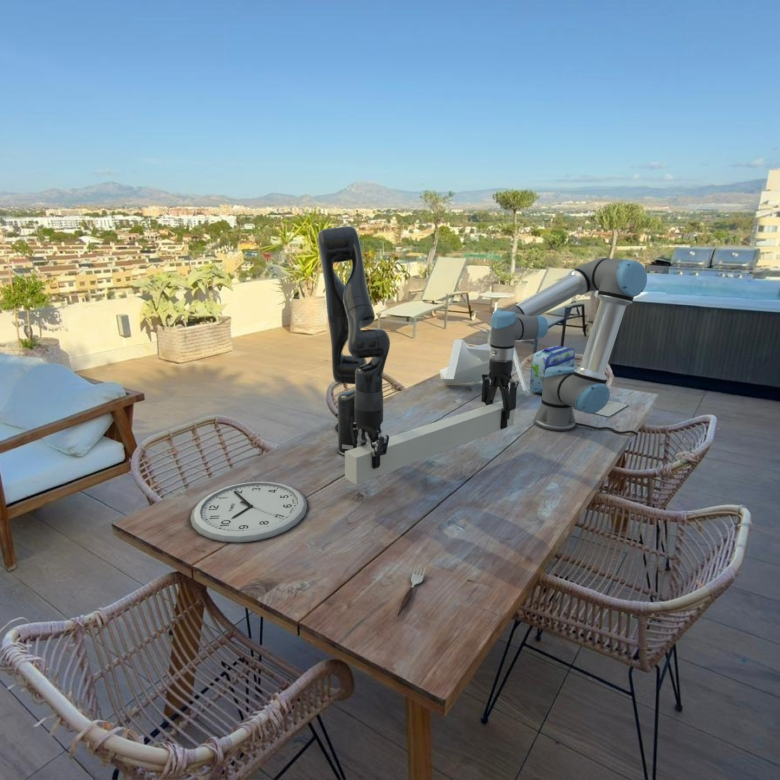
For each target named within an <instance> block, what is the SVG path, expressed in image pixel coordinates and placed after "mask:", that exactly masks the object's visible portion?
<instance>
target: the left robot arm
mask: <svg viewBox="0 0 780 780" xmlns="http://www.w3.org/2000/svg"><path fill="white" fill-rule="evenodd" d="M317 246H318V253H319V258H320V265H321V270H322V276H323V283H324V291H325V293H324V294H325V304H326V305H325V306H326V315H327V322H328V329H329V336H330V344H331V345H330V346H331V347H330V348H331V369H332V377H333V381H334V382H335V383H336V384H344V385H345V384H346V385H354V387H352V388H351V389H349V390H346V391H343V392H341V393H340V394H338V396H337V413H335V415H334V416H335V417H337V423H336V425H335V427H334V428H335V430H336V432H337V443H338V444H337V446H338V447H337V451H338V454H339V455H341V456H343V457H345V451H348V450H351V449H354V448H357V447H360V446H363V445H366V444H368V446H369V448H370V449H371V452H372V468H373V469H376V468H378V467H379V466H380V456H382V455H385V454H386V452H387V447H388V441H389V437H390V435H388V434H383V431H382V428H381V425H382V424H383V423H384V392H383V391H384V390H383V376H384V375H383V374H384V369H385V365H386V362H387V358H388V356H389V352H390V347H391V340H390V336H389V334H388V332H387V331H386V330H384V329H382V328H373V329H372V328H371V329H364V328H366V327H369V326H371V325H372V324H374V322H375V319H376V314H375V311H374V308H373V307H374V306H373V304H372V300H371V296H370V293H369V288H368V285H367V278H366V270H365V264H364V257H363V252H362V246H361V240H360V238H359V234H358V231H357V230H356V228H355V227H354V226H352V225H345V226H338V227H329V228H323V229H321V230H319V232H318V234H317ZM345 262H351V270H350V274H349V276H348V279H347V280H346V283H344V282H343V281H342V280H341V278H340V277H339V275H338V274H337V272H336V270H335V268H334V265H335V264H339V263H345ZM346 345H347V349H348V352H349V355H348V354H347V355H346V354H344V353H343V351H344V348H345V347H346ZM370 358H371V359H370ZM367 359H370V360H369V362H367ZM376 441H377V442H376ZM373 442H376V443H375V444H372V443H373ZM375 447H377V451H375Z"/></svg>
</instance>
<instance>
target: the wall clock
mask: <svg viewBox="0 0 780 780" xmlns="http://www.w3.org/2000/svg"><path fill="white" fill-rule="evenodd" d="M307 503H308V502H307V499H306V498H305V496H304V495H303V493H301V492H300V491H298V490H297V489H295V488H294V487H291V486H289V485H286V484H283V483H280V482H279V483H278V482H272V481H249V482H248V481H247V482H242V483H238V484H232V485H229V486H226V487H223V488H220V489H218V490H216V491H213V492H211V493H210V494H208V495H207V496H205V497H204V498H202V499H201V500H200V501H199V502H198V503H197V504H196V505H195V507H194V508H193V509H192V511H191V515H190V523H191V526H192V528H193V529H194V531H196V532H197V533H198V534H199V535H201V536H203V537H205V538H208V539H210V540H214V541H218V542H222V543H239V544H240V543H249V542H256V541H262V540H265V539H269V538H274V537H276V536H278V535H280V534H282V533H286V532H287V531H289V530H290V529H292V528H293V527H295V526H296V525H298V524H299V523H300V522H301V521H302V519H303V518H304V517H305V516H306V513H307V510H308V504H307Z"/></svg>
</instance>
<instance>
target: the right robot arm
mask: <svg viewBox="0 0 780 780" xmlns="http://www.w3.org/2000/svg"><path fill="white" fill-rule="evenodd" d="M647 282H648V274H647V271H646V269H645V266H644V265H643V264H642V263H641V262H639V261H637V260H633V259H628V258H627V259H626V258H610V257H601V258H596V259H594V260H593V259H592V260H591V261H588V262H585V263H584V264H581V265H580V266H578V267H576V268H574V269H572V270H571V271H569V273H568V274H567V276H565V277H564V278H562V279H560V280H558V281H556V282H554V283H553V284H550V285H549V286H547V287H545V288H543V289H541V290H540V291H538V292H536V293H535V294H533V295H530V296H529V297H527V298H525V299H523V300H522V301H520V302H518V303H516V304H514V305H512V306H511V307H508V308H498V309H496V310H495V312H494V311H493V312H494V313H493V312H492V315H491V316H490V323H491V324H490V328H491V329H490V344H489V345H490V358H491V359H490V360H489V370H490V372H489V374H488V373H486V374H483V375H482V386H481V400H480V402H481V403H483V404H485V406H487V405H490V404H493V403H495V402H494V401H495V397H496V395H497V390H498V388H499V391H500V395H501V401H503V408H504V410H502V411H501V425H500V429H502V430H505V429H507V428H508V427H507V421H508V419H509V418H510V411H511V410H514V409H515V410H516V409H517V398H516V396H517V394H518V386H519V385H520V381H518V380H514V379H513V377H512V373H513V365H514V360H513V354H514V348H515V341H516V342H517V341H529V340H538V339H543V338H544V337H546V336H547V334H548V331H549V322H548V320H547V318H546V317H545V316H543V314H545V313H547V312H549V311H551V310H552V309H554V308H556V307H558V306H560V305H561V304H563V303H565V302H567V301H569V300H570V299H573V298H574V297H575V296H577V295H578V296H583V295H585V294H587V293H591V292H597V294H596V295H597V298H598V299H599V304H598V306H597V311H596V313H595V316H594V320H593V323H592V326H591V330H590V333H589V336H588V339H587V341H586V342H587V343H586V345H585V349H584V352H583V355H582V358H581V361H580V364H579V366H578V367H577V368H576V367H575V366H574V367H566V366H556V367H549V368H547V369H546V370H545V374H544V380H543V391H542V393H541V402H540V405H539V407H538V410H537V411H536V413H535V416H534V424H535V425H536V426H537V427H539V428H542V429H544V430H549V431H556V432H567V431H572V430H574V429H575V428H576V426H581V427H585V428H588V429H593V430H599V431H601V430H609V431H612V432H614V433H616V434H620V435H623V434H624V435H625V434H634V435H635V436H639V433H637V432H636V431H634V430H632V429H631V430H624V431H623V430H622V431H620V430H616V429H614V428H612V427H610V426H600V427H599V426H593V425H589V424H586V423H580V422H576V418H575V417H576V416H575V413H574V409H575V410H577V411H579V412H583V413H585V414H589V415H590V414H591V415H593V414H596V412H598V411H599V410H601V409H602V408H603V407H604V406H605V405H606V404H607V402H608V400H610V395H611V393H610V388H609V387H608V385H607V381H608V377H607V375H606V370H607V367H608V364H609V360H610V358H611V355H612V352H613V348H614V345H615V342H616V339H617V337H618V336H617V335H618V333H619V329H620V327H621V326H620V325H621V323H622V319H623V316H624V314H625V310H626V307H627V306H629V305H631V304H633V302H634V299H635V297H638V296H640V295H641V293H643V292H644V291H645V289H646V286H647ZM509 383H510V385H509ZM509 386H510V389H509Z"/></svg>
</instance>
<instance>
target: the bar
mask: <svg viewBox="0 0 780 780" xmlns="http://www.w3.org/2000/svg"><path fill="white" fill-rule="evenodd" d="M502 410H504V408H503V401H502V400H499V401H497V402H494V403H493V404H490V405H487V406H486V405H483V406H481V407H478V408H475V409H474V408H473V409H471V410H469V411H465V412H462V413H459V414H456V415H452V416H450V417H447V418H444V419H440V420H438V421H437V420H436V421H435V422H431V423H428V424H425V425H422V426H419V427H416V428H412V429H410V430H407V431H404V432H400V433H398V434H395V435H391V436H389V441H388V447H387V452H386V454H385V455H382V456H380V466H379V467H378V468H376V469H373V468H372V452H371V449H370V448H369V446H368V443H367V444H366V445H363V446H360V447H357V448H354V449H351V450H348V451H345V456H344V479H346V480H347V481H349V482H351V483H352V484H354V485H356V486H358V485H360V484H362V483H366V482H368V481H370V480H373V479H375V478H379V477H381V476H383V475H387V474H389V473H392V472H394V471H397V470H399V469H402V468H405V467H406V466H407V467H408V466H409V465H413V464H415V463H418V462H420V461H423V460H426V459H428V458H430V457H433V456H436V455H439V454H441V453H444V452H446V451H449V450H452V449H455V448H458V447H460V446H462V445H465V444H468V443H470V442H473V441H475V440H478V439H481V438H483V437H486V436H488V435H489V436H490V435H491V434H494V433H496V432H499V431H502V430H503V429H500V425H501V411H502ZM515 413H516V409H514V410H511V411H510V418H509V419H508V421H507V428H509V427H513V426H514V423H515ZM376 442H377V441H376ZM376 442H373V443H372V444H375V443H376ZM375 451H377V447H375Z"/></svg>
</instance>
